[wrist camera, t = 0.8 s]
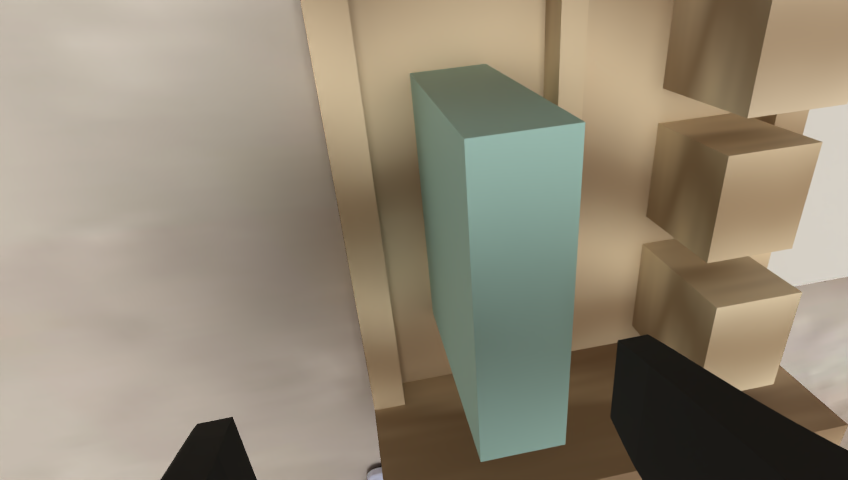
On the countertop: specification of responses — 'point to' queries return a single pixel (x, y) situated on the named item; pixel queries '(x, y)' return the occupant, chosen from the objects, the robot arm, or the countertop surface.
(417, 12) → the rack
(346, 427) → the countertop surface
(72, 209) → the countertop surface
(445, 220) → the board
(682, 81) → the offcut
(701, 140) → the block
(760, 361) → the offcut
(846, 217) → the mat
